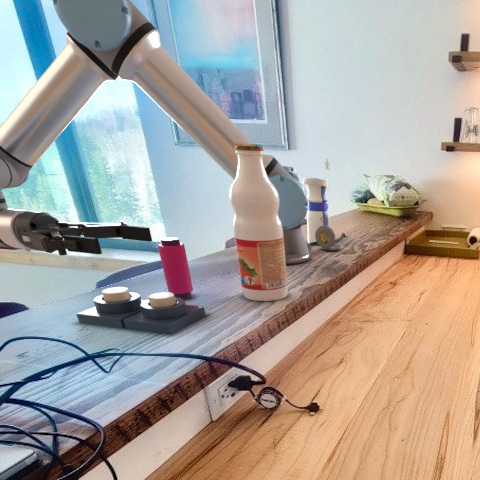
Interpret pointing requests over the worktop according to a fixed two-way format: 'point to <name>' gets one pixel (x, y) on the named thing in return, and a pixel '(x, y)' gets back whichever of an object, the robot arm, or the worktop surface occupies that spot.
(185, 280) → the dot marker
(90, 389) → the worktop surface
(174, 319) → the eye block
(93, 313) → the eye block
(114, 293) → the eye pad
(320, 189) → the water bottle
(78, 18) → the robot arm
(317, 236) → the pocket watch
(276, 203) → the fruit juice
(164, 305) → the eye pad
